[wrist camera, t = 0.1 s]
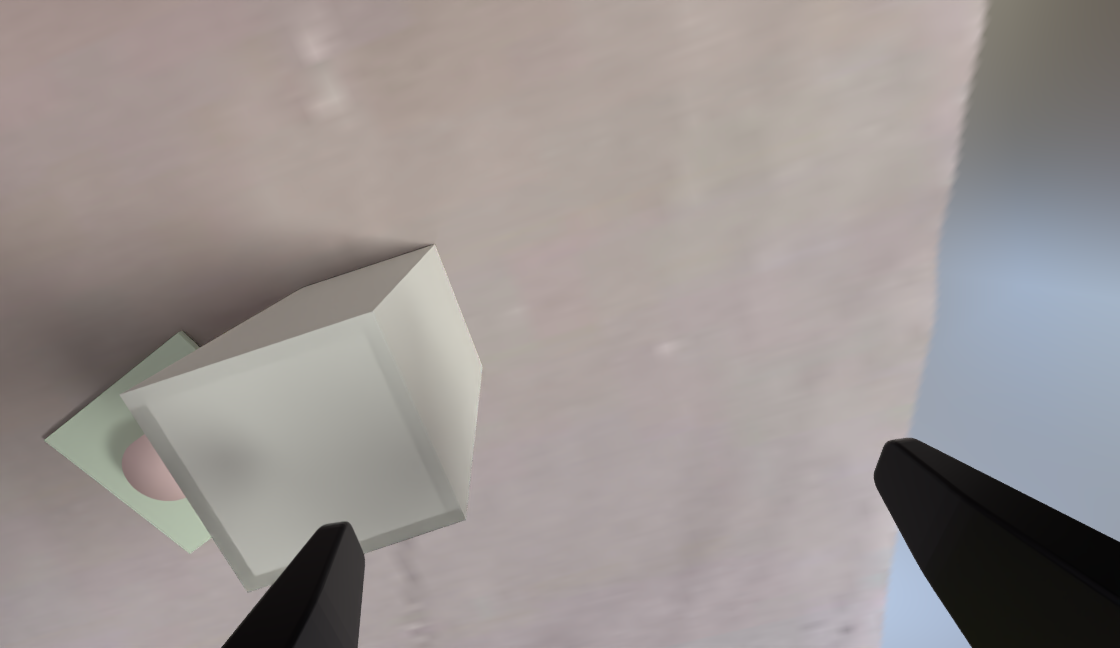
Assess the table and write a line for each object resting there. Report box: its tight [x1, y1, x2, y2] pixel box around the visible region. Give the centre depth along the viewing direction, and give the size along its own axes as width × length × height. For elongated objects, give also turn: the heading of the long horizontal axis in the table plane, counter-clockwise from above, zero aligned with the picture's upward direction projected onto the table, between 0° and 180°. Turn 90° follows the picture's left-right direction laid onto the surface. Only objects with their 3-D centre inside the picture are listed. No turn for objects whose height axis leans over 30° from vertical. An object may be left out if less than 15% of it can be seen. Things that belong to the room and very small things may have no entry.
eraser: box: [122, 434, 186, 501], centre depth 23 cm, size 3×3×2 cm
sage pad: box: [44, 331, 212, 554], centre depth 23 cm, size 8×8×1 cm
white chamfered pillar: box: [120, 244, 483, 592], centre depth 18 cm, size 6×6×11 cm
